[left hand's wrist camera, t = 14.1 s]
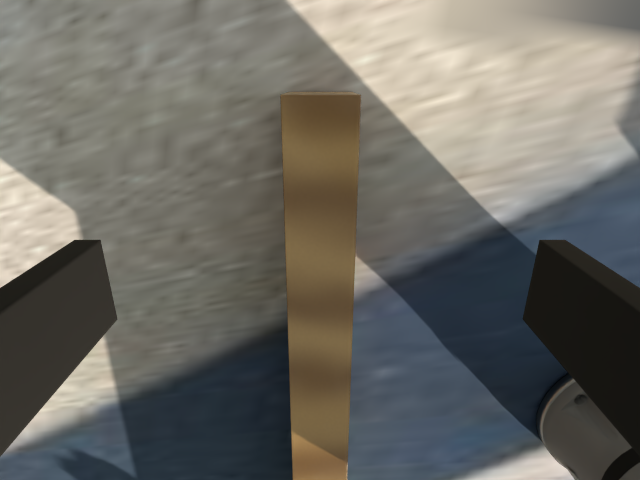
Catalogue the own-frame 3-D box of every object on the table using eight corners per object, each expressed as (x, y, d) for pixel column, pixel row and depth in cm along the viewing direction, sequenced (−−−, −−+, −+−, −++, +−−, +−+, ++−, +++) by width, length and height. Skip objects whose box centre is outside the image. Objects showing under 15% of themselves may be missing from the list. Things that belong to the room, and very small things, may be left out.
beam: (288, 91, 34) (280, 94, 27) (352, 91, 34) (361, 94, 27) (300, 584, 58) (298, 652, 51) (338, 584, 58) (340, 652, 51)
